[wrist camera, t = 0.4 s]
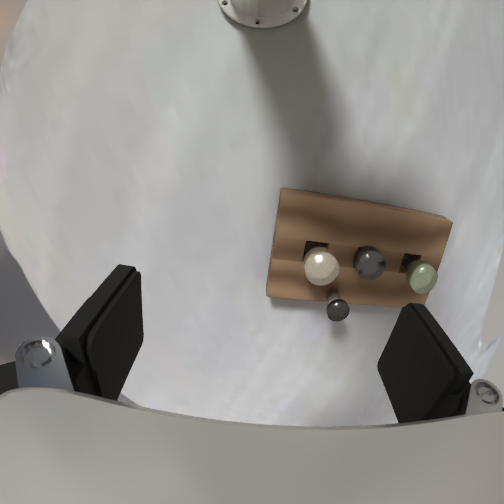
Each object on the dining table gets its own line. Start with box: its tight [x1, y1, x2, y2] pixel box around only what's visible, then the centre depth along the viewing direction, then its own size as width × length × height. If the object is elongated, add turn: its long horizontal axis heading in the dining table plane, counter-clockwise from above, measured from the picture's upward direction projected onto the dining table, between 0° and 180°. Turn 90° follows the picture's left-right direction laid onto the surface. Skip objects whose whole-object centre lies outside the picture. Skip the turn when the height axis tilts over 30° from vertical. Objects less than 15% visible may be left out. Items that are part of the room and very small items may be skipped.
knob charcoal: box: [353, 246, 386, 280], centre depth 44 cm, size 4×4×5 cm
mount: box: [266, 188, 453, 307], centre depth 46 cm, size 16×28×3 cm, turn 83°
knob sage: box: [404, 258, 438, 294], centre depth 42 cm, size 4×4×5 cm
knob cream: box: [303, 246, 339, 286], centre depth 41 cm, size 4×4×5 cm
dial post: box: [325, 288, 349, 321], centre depth 45 cm, size 3×3×5 cm
